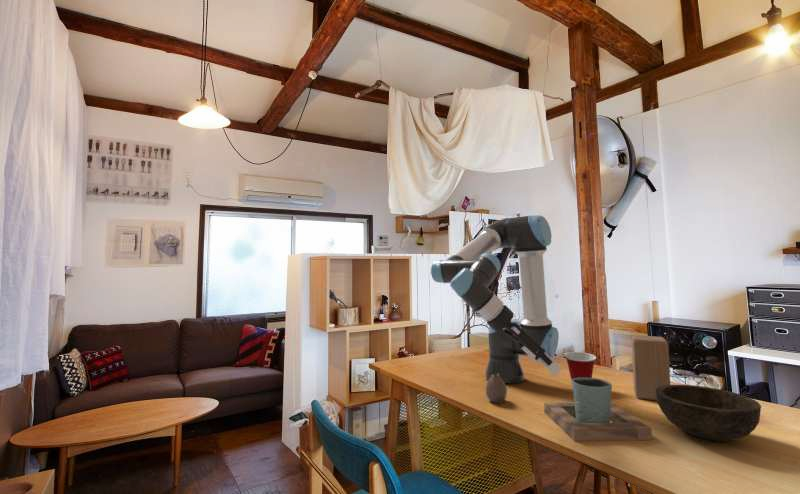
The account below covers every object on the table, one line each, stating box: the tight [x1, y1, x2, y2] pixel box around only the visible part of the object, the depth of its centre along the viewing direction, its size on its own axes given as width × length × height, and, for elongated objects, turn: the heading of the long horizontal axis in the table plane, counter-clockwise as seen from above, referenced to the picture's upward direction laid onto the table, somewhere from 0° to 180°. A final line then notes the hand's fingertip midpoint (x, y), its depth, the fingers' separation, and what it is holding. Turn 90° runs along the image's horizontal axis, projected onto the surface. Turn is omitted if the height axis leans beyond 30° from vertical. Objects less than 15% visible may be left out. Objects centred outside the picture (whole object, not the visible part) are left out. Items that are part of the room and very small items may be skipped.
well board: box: [543, 401, 653, 442], centre depth 109 cm, size 20×20×3 cm
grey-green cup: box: [571, 377, 612, 423], centre depth 109 cm, size 10×10×12 cm
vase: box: [485, 374, 508, 404], centre depth 130 cm, size 7×7×9 cm
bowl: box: [656, 384, 762, 442], centre depth 101 cm, size 22×22×10 cm
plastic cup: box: [564, 351, 597, 381], centre depth 143 cm, size 11×11×12 cm
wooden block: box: [631, 334, 671, 402], centre depth 133 cm, size 10×10×20 cm
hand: (548, 366), depth 110 cm, fingers open, 13 cm apart
